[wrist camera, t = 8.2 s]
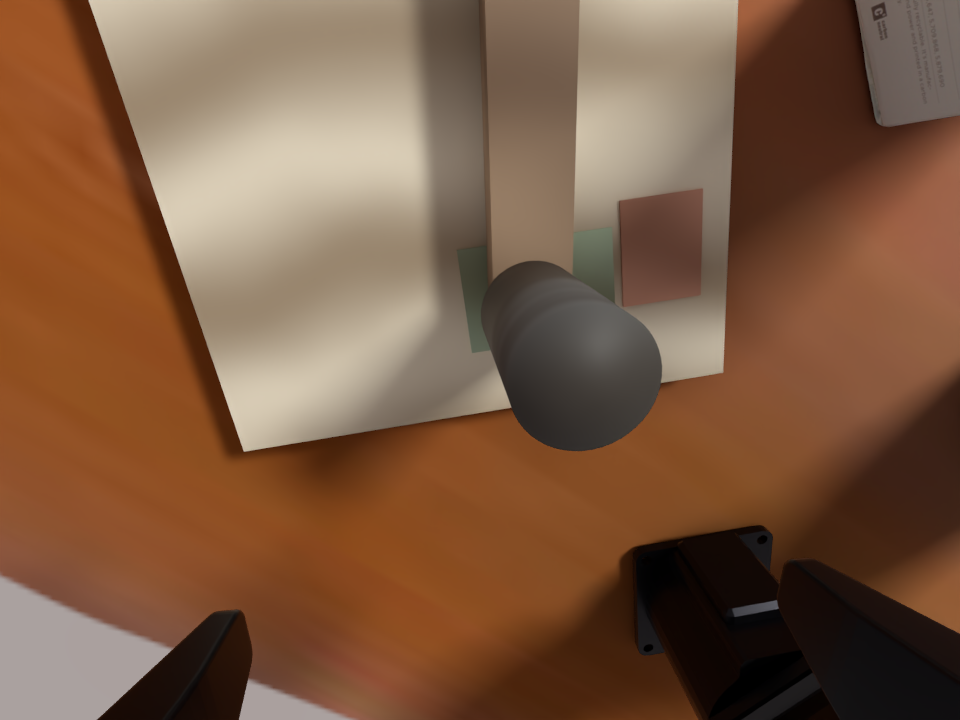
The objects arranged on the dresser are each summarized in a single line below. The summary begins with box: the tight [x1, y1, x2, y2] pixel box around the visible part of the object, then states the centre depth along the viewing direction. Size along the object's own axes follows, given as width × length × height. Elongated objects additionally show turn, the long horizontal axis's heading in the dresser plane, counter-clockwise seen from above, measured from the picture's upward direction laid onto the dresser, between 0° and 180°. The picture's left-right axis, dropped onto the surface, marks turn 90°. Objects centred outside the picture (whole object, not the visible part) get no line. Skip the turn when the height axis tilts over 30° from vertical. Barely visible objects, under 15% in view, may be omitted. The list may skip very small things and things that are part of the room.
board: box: [89, 0, 738, 452], centre depth 15 cm, size 23×18×2 cm
